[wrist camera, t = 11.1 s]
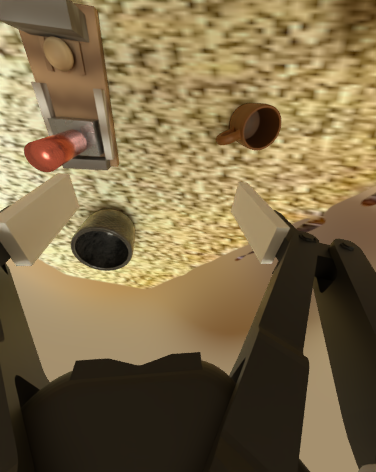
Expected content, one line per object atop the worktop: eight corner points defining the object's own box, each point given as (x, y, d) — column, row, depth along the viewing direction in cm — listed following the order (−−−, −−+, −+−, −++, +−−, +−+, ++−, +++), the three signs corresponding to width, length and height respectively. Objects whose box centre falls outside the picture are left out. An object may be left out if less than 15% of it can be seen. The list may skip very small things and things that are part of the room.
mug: (213, 152, 44) (222, 163, 37) (206, 116, 39) (215, 121, 32) (262, 135, 43) (281, 143, 35) (260, 97, 38) (283, 97, 31)
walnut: (57, 33, 29) (43, 23, 26) (81, 57, 31) (71, 51, 28) (47, 57, 30) (33, 52, 27) (71, 79, 32) (61, 76, 29)
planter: (85, 231, 54) (66, 262, 44) (94, 192, 47) (74, 218, 37) (130, 245, 59) (123, 276, 49) (145, 212, 52) (140, 240, 42)
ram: (58, 116, 35) (-4, 126, 23) (98, 119, 36) (62, 131, 23) (67, 149, 39) (19, 174, 26) (104, 151, 40) (75, 176, 27)
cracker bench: (15, -2, 28) (-37, -36, 21) (97, 11, 29) (75, -17, 22) (66, 161, 42) (45, 173, 35) (119, 164, 44) (109, 176, 36)
